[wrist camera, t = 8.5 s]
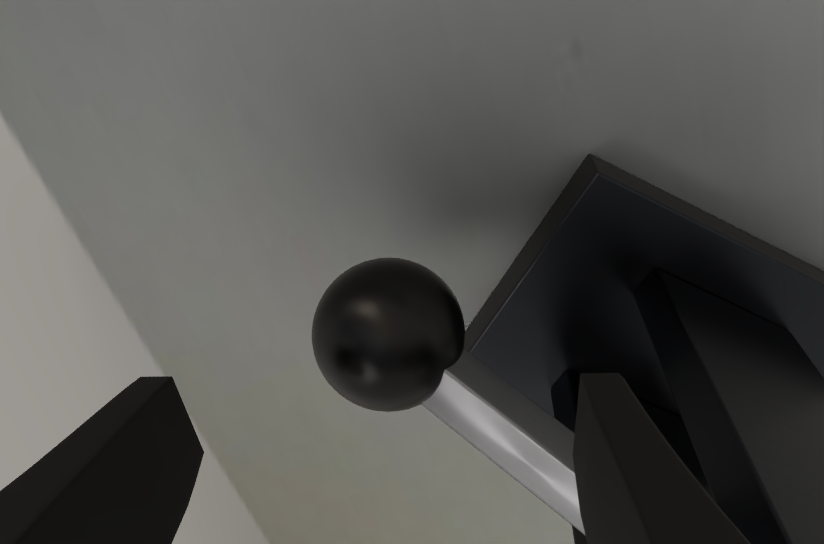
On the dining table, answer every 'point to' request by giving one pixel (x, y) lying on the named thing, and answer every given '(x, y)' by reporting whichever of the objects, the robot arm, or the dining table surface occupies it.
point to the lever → (436, 373)
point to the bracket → (674, 341)
